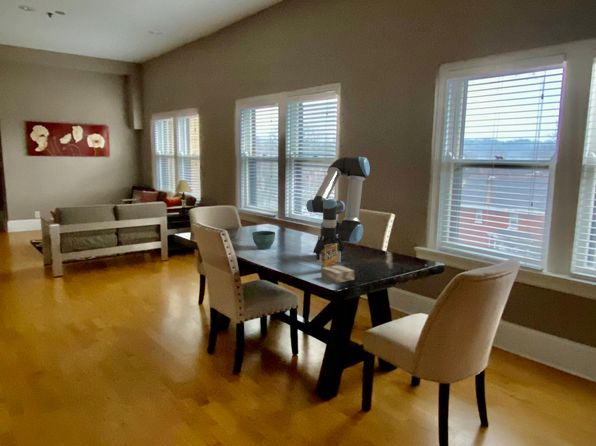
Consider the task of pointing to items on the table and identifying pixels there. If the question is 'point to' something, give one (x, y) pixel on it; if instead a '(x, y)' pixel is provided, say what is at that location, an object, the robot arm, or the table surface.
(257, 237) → the flower pot
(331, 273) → the birch stand
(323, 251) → the candy box
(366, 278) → the table surface
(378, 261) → the table surface
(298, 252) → the table surface
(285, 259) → the table surface
